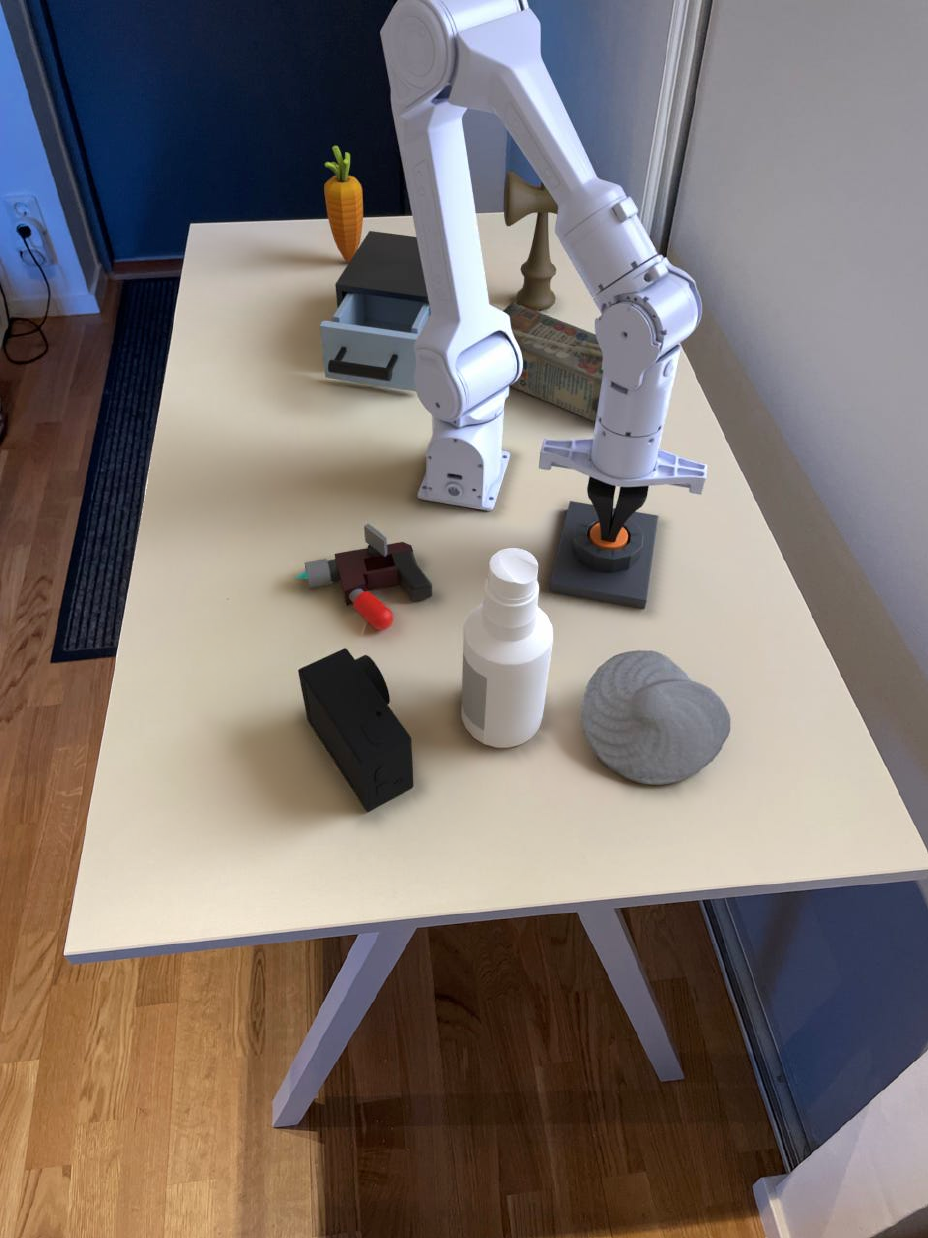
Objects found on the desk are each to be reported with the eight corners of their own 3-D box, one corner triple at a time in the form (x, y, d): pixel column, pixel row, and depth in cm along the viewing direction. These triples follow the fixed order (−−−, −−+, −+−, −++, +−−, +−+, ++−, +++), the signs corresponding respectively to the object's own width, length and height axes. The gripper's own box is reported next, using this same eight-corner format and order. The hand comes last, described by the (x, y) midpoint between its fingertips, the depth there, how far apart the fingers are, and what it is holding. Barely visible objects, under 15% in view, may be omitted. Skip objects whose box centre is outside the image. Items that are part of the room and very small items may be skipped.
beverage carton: (612, 433, 103) (620, 383, 98) (471, 375, 110) (472, 325, 105) (645, 399, 107) (655, 349, 102) (508, 345, 114) (510, 296, 109)
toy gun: (293, 574, 88) (287, 537, 84) (416, 552, 90) (415, 515, 86) (310, 650, 82) (303, 613, 78) (441, 624, 84) (440, 588, 80)
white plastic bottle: (500, 670, 80) (511, 517, 67) (558, 716, 77) (583, 565, 64) (444, 714, 77) (444, 563, 64) (502, 764, 74) (515, 616, 60)
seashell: (618, 661, 81) (550, 720, 75) (642, 621, 77) (572, 679, 71) (724, 749, 78) (662, 818, 72) (755, 711, 73) (691, 781, 67)
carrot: (365, 271, 126) (357, 158, 114) (329, 270, 126) (317, 157, 114) (368, 254, 129) (361, 141, 118) (333, 253, 129) (322, 140, 118)
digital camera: (428, 781, 73) (427, 731, 68) (367, 814, 71) (362, 765, 66) (364, 692, 79) (359, 640, 73) (307, 720, 77) (297, 668, 71)
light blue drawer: (409, 413, 103) (407, 361, 98) (312, 398, 105) (306, 346, 100) (445, 334, 114) (445, 283, 109) (357, 322, 116) (353, 271, 110)
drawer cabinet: (440, 363, 111) (440, 298, 105) (341, 349, 113) (334, 283, 107) (465, 306, 120) (467, 242, 114) (373, 293, 122) (369, 230, 115)
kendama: (498, 291, 123) (505, 133, 108) (569, 291, 123) (587, 133, 108) (500, 315, 119) (508, 154, 104) (574, 315, 119) (592, 155, 104)
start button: (623, 563, 88) (625, 550, 86) (585, 556, 88) (587, 543, 87) (627, 537, 90) (630, 524, 89) (590, 531, 90) (592, 518, 89)
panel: (644, 609, 85) (650, 587, 83) (549, 592, 87) (552, 570, 84) (656, 524, 93) (661, 501, 91) (568, 509, 94) (571, 486, 92)
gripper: (720, 401, 79) (688, 519, 89) (553, 377, 81) (541, 494, 91) (716, 452, 74) (683, 569, 85) (539, 424, 76) (528, 543, 87)
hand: (609, 534), depth 88 cm, fingers closed, pressing on start button
